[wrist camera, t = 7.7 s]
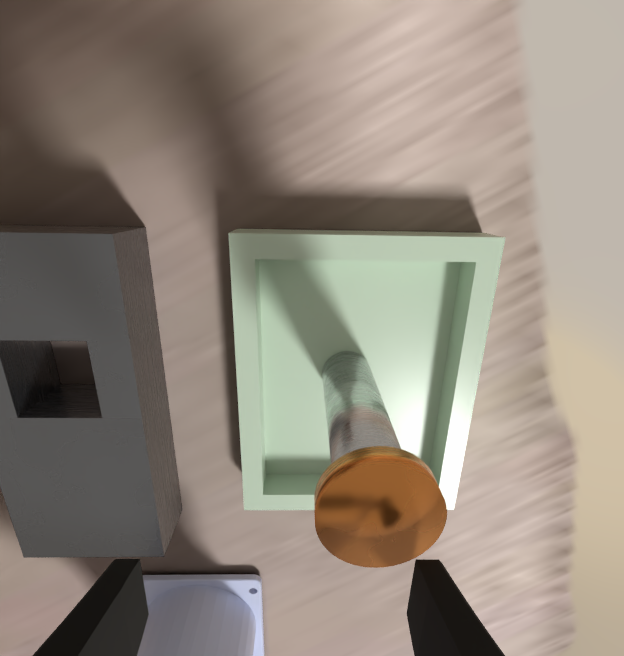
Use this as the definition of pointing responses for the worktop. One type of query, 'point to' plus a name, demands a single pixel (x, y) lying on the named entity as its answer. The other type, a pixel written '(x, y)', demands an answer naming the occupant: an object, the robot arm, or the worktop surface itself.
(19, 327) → the drawbar
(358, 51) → the worktop surface
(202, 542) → the worktop surface
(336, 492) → the hitch pin
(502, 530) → the worktop surface
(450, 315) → the tray
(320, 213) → the worktop surface
